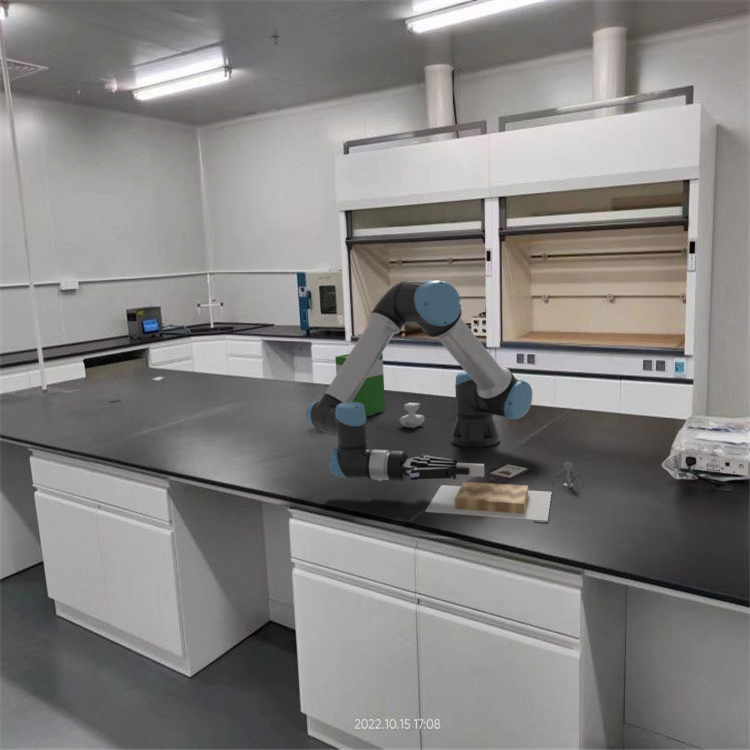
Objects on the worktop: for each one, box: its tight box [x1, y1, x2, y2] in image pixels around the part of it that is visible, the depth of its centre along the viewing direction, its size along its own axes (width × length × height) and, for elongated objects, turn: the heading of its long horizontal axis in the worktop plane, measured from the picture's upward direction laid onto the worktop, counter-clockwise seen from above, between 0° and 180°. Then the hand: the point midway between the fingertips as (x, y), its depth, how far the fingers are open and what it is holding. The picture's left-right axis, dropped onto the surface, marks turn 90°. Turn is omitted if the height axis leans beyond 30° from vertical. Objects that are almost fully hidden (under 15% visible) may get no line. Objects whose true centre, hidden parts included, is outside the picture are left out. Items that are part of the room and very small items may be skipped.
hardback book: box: [335, 353, 386, 417], centre depth 250 cm, size 18×7×24 cm, turn 134°
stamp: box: [398, 402, 426, 429], centre depth 230 cm, size 9×7×8 cm
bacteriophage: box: [552, 461, 584, 491], centre depth 165 cm, size 7×8×7 cm
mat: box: [424, 484, 553, 523], centre depth 157 cm, size 18×28×1 cm, turn 72°
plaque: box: [455, 481, 529, 514], centre depth 156 cm, size 12×2×16 cm
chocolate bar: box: [466, 463, 533, 484], centre depth 175 cm, size 9×1×18 cm
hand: (483, 470), depth 155 cm, fingers closed
